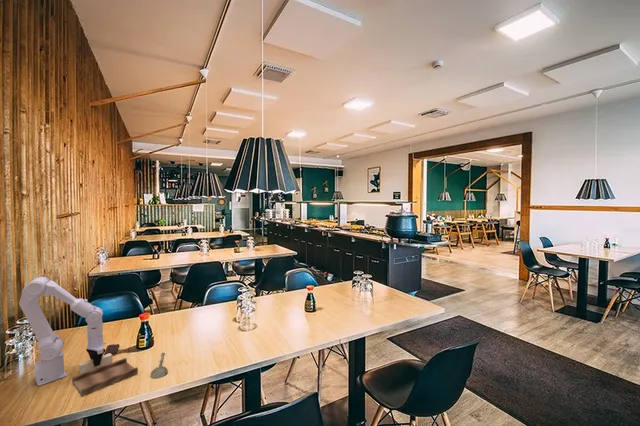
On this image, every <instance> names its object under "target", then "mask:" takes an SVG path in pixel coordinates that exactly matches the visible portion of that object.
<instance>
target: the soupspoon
mask: <svg viewBox="0 0 640 426" xmlns="http://www.w3.org/2000/svg"><path fill="white" fill-rule="evenodd" d="M160 356H161V357H160V360H159V365H158V367H155V368H154V369H152V370H151V371H150V378H151V379H153V380H156V379H162V378H164V377H166V375H167V374H168V368H167V367H166V366H163V365H162V363H163V358H164V356H166V353H165V352H161V354H160ZM161 377H162V378H161Z"/></svg>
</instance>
